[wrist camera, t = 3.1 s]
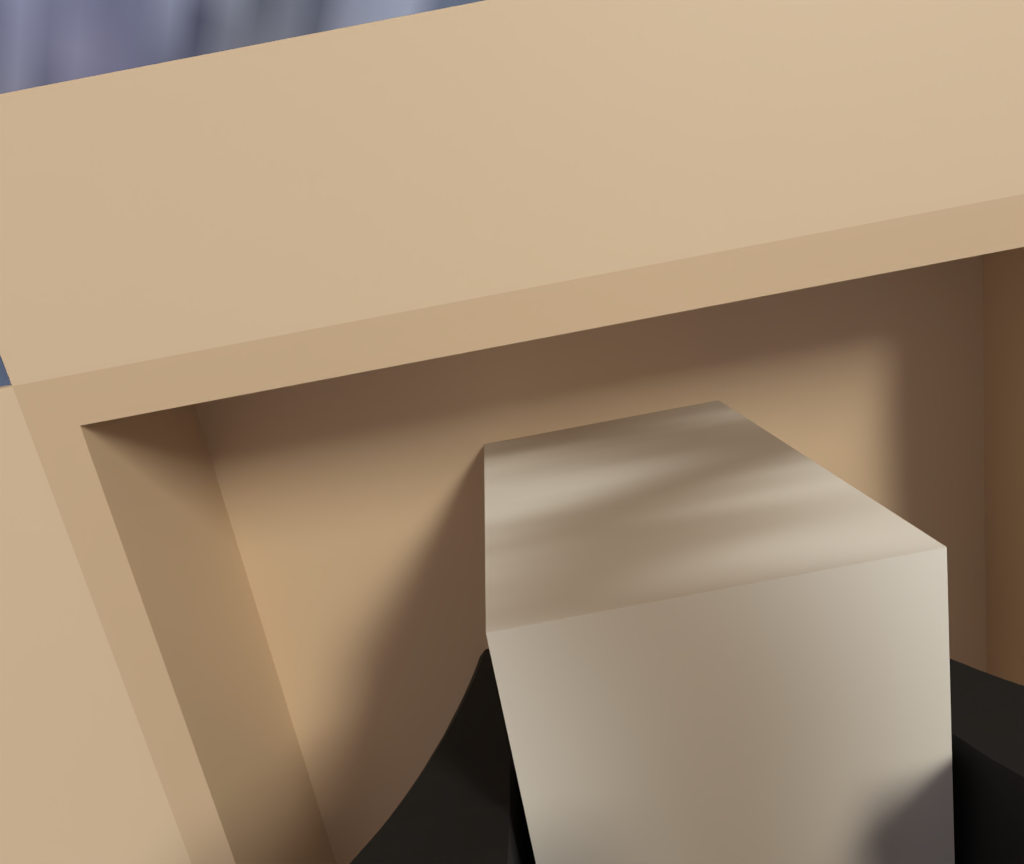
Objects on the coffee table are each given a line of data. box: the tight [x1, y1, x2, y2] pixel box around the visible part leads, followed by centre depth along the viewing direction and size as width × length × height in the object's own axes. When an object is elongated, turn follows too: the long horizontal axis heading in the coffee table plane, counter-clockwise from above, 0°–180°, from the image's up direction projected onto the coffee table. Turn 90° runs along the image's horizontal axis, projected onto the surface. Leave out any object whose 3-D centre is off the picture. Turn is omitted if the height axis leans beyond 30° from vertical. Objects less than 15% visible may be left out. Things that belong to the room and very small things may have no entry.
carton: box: [0, 0, 1024, 864], centre depth 12 cm, size 20×19×4 cm
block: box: [484, 400, 955, 864], centre depth 10 cm, size 4×8×6 cm, turn 10°
